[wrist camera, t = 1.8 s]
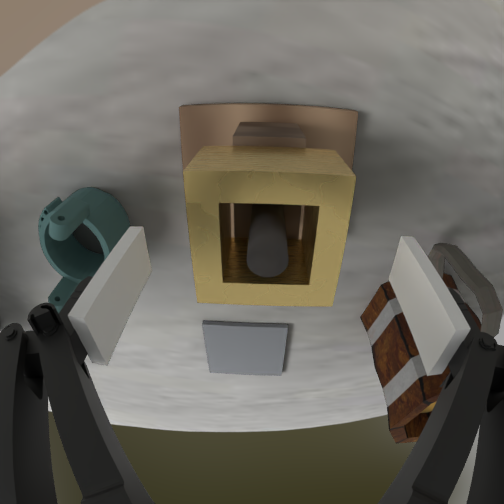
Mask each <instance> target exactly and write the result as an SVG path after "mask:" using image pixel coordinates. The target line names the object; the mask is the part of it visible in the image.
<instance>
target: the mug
mask: <svg viewBox="0 0 504 504" xmlns="http://www.w3.org/2000/svg"><path fill="white" fill-rule="evenodd" d="M428 258H429V260H430V261H431V263H432V265H433V266H434V268H435V269H436V271H437V272H438V274H439V275H440V277H441V279H442V280H443V282H444V283H445V285H446V287H447V288H452V289H454V290H455V291H456V292H457V293H458V294H459V295H460V297H461V298H462V300H463V301H464V305H466V306H467V308H468V311H469V312H470V313H471V315H472V317H473V319H474V320H475V322H476V324H477V326H478V327H479V329H480V331H481V332H485V333H488V334H490V335H491V336H492V337H493V338H494V337H495V336H496V335H497V334H498V333H499V328H500V322H501V316H502V310H503V309H502V307H501V304H500V302H499V300H498V297H497V295H496V292H495V290H494V287H493V285H492V284H491V283H490V282H489V281H488V280H487V279H486V278H485V277H484V276H483V275H482V274H481V273H480V272H479V271H478V270H477V269H476V267H475V266H474V265H473V264H472V262H471V261H470V260H469V259H468V257H467V256H466V255H465V254H464V253H463V252H462V251H461V250H460V249H459V248H458V247H457V246H456V245H451V244H446V243H438V244H435V245H434V246H433V248H432V250H431V252H430V254H429V256H428ZM445 258H446V260H447V261H448V262H449V263H450V265H451V266H452V267H453V269H454V270H455V271H456V273H457V274H458V276H459V277H460V278H461V280H462V281H463V282H464V283H465V284H466V285H467V286H468V287H469V288H470V289H471V290H472V291H473V292H474V293H475V295H476V298H477V300H478V303H479V305H480V308H481V310H482V313H483V318H482V325H481V323H480V320H479V318H478V317H477V316H476V315H475V313H474V312H473V311H472V309H471V308H470V307H469V306H468V304H467V303H466V302H465V300H464V298H463V297H462V295H461V294H460V292H459V291H458V289H457V286H456V284H455V282H454V280H453V278H452V276H451V275H448V274H445V273H443V272H444V262H445ZM360 318H361V320H362V322H363V324H364V327H365V329H366V331H367V334H368V336H369V340H370V343H371V347H372V353H373V359H374V366H375V369H376V372H377V374H378V377H379V380H380V383H381V385H382V388H383V392H384V396H385V400H386V405H387V411H388V421H389V431H390V432H391V435H392V437H393V438H394V440H395V442H396V443H407V442H416V441H417V440H418V438H419V436H420V435H421V433H422V431H423V429H424V427H425V425H426V423H427V421H428V419H429V417H430V415H431V412H432V410H433V408H434V406H435V404H436V402H437V399H438V397H439V395H440V392H441V390H442V388H443V386H442V388H441V387H440V385H441V384H442V383H443V381H444V380H445V379H446V377H447V376H448V375H449V373H450V372H451V371H450V369H449V366H448V365H447V367H446V368H445V370H444V371H443V373H442V374H437V375H430V376H427V373H426V370H425V368H424V365H423V362H422V359H421V357H420V354H419V351H418V348H417V346H416V343H415V341H414V338H413V335H412V333H411V330H410V328H409V325H408V323H407V320H406V318H405V316H404V313H403V311H402V308H401V306H400V304H399V301H398V299H397V297H396V294H395V292H394V290H393V288H392V285H391V283H390V281H389V282H386V283H384V284H382V285H381V286H380V288H379V289H378V291H377V292H376V294H375V296H374V297H373V299H372V300H371V302H370V303H369V305H368V307H367V308H366V310H365V311H364V313H363V314H362V316H361V317H360Z"/></svg>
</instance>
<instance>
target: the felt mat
mask: <svg viewBox="0 0 504 504" xmlns="http://www.w3.org/2000/svg"><path fill="white" fill-rule="evenodd" d="M202 326H203V333H204V340H205V346H206V352H207V358H208V364H209V370H210V372H211V373H225V374H243V375H276V376H281V375H282V368H283V361H284V354H285V347H286V339H287V331H288V324H263V323H236V322H216V321H203V323H202Z"/></svg>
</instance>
